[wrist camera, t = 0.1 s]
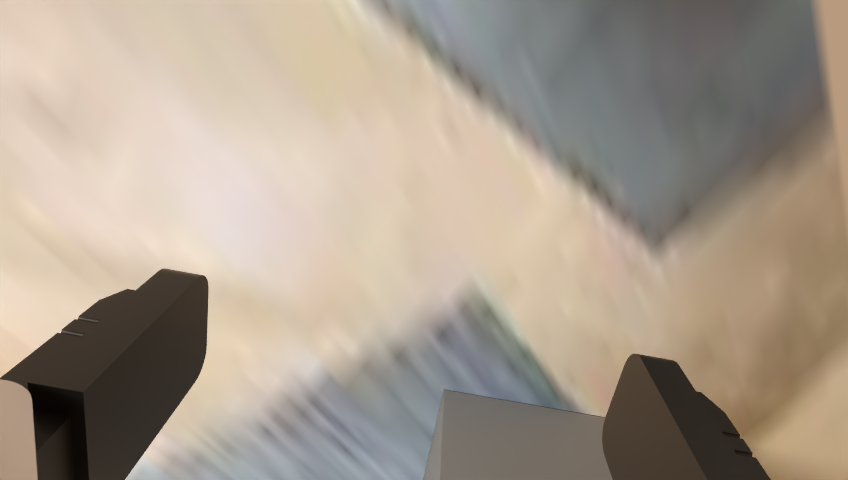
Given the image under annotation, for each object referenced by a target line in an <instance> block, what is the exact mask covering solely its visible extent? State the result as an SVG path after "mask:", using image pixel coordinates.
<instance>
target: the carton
mask: <svg viewBox="0 0 848 480" xmlns="http://www.w3.org/2000/svg"><path fill="white" fill-rule="evenodd" d="M604 421H605V418H604V417H598V416H592V415H587V414H581V413H575V412H569V411H564V410H558V409H552V408H546V407H541V406H535V405H529V404H523V403H517V402H512V401H506V400H500V399H494V398H489V397H483V396H477V395H471V394H465V393H460V392H454V391H448V390H444V392H443V396H442V401H441V405H440V409H439V414H438V418H437V422H436V427H435V431H434V435H433V440H432V444H431V448H430V453H429V457H428V461H427V466H426V470H425V474H424V479H423V480H613V479H612V476H611V473H610V470H609V467H608V464H607V461H606V459H605V456H604V452H603V445H602V432H603V425H604Z"/></svg>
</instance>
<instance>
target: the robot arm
mask: <svg viewBox="0 0 848 480" xmlns="http://www.w3.org/2000/svg"><path fill="white" fill-rule="evenodd" d="M207 316H208V281H207V279H206V277H205V276H203V275H198V274H192V273H186V272H181V271H175V270H170V269H161V270H160V271H158V272H157V273H156V274H155V275H153V276H152V277H151V278H150V279H149V280H148V281H146V282H145V283H144V284H143V285H142V286H140V287H139V288H138V289H137V290H136V291H135V290H130V289H126V290H124V291H121V292H119V293H116V294H114V295H111V296H109V297H106V298H104V299H101V300H99V301H98V302H96V303H95V304H94V305H92V306H91V307H90V308H89V309H87V310H86V311H85V312H84V313H82V314H81V315H80V316H79V318H78V320H76V319H75V320H73V321H72V322H71V323H70V324H68V325H67V326H66V327H64V328H63V329H62V332H61V334H60V333H57V334H56V335H54V336H53V337H52V338H50V339H49V340H48V341H47V342H45V343H44V344H43V345H42V346H40V347H39V348H38V349H37V350H35V351H34V352H33V353H31V354H30V355H29V356H28V357H26V358H25V359H24V360H23V361H21V362H20V363H19V364H17V365H16V366H15V367H14V368H12V369H11V370H10V371H9V372H7V373H6V374H5V375H3V376H2V377H1V378H0V480H125V479H126V477H127V476H128V474H129V473H130V472H131V470H132V469H133V468H134V466H135V465H136V463H137V462H138V461H139V459H140V458H141V456H142V455H143V454H144V452H145V451H146V449H147V448H148V447H149V445H150V444H151V442H152V441H153V440H154V438H155V437H156V436H157V434H158V433H159V431H160V430H161V429H162V427H163V426H164V424H165V423H166V422H167V420H168V419H169V417H170V416H171V415H172V413H173V412H174V411H175V409H176V408H177V406H178V405H179V404H180V402H181V401H182V399H183V398H184V397H185V395H186V394H187V392H188V391H189V390H190V388H191V387H192V386H193V384H194V383H195V381H196V380H197V378H198V376H199V374H200V372H201V369H202V366H203V363H204V359H205V355H206V346H207ZM739 436H740V434H739V433H738V431H737V430H736V428H735V427H734V425H733V424H732V423H731V421H730V420H729V418H728V417H727V415H726V414H725V413H724V412H723V411H722V410H721V409H720V408H719V407H717V406H716V405H715V404H714V403H713V402H712V401H711V400H709V399H708V398H707V397H706V396H705V395H704V394H702V393H701V392H696V391H695V389H694V388H693V386H692V385H691V383H690V382H689V380H688V379H687V377H686V375H685V374H684V372H683V371H682V369H681V368H680V366H679V365H678V363H677V362H675V361H673V360H667V359H662V358H656V357H651V356H645V355H639V354H632V355H631V356H630V357H629V358H628V359H627V361H626V363H625V365H624V368H623V371H622V374H621V376H620V379H619V382H618V385H617V387H616V390H615V393H614V396H613V398H612V401H611V404H610V407H609V409H608V412H607V415H606V418H605V421H604V425H603V432H602V445H603V452H604V456H605V459H606V461H607V464H608V467H609V470H610V473H611V476H612V479H613V480H771V479H770V478H769V477H768V475H767V474H766V472H765V471H764V469H763V468H762V466H761V465H760V463H759V462H758V460H757V459H756V458H754V457H752V452H751V450H750V449H749V447H748V446H747V444H746V443H745V442H744V440H743V439H740V438H739Z"/></svg>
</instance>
